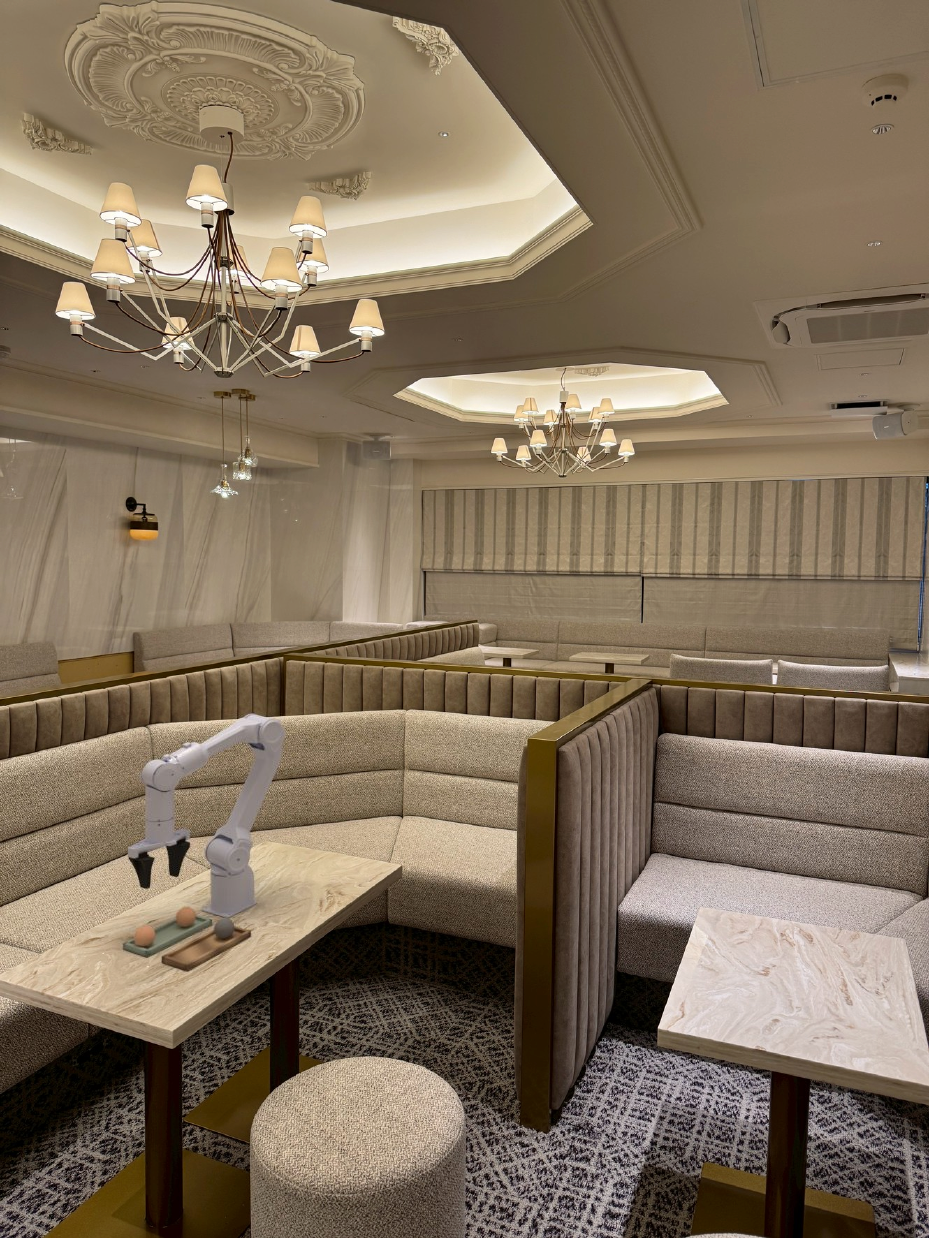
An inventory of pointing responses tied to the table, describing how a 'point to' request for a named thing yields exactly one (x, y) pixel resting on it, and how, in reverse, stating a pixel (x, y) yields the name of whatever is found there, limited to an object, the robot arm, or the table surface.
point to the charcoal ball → (224, 928)
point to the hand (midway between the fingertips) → (159, 881)
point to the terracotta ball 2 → (185, 916)
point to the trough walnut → (203, 949)
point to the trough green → (168, 936)
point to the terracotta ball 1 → (144, 936)
